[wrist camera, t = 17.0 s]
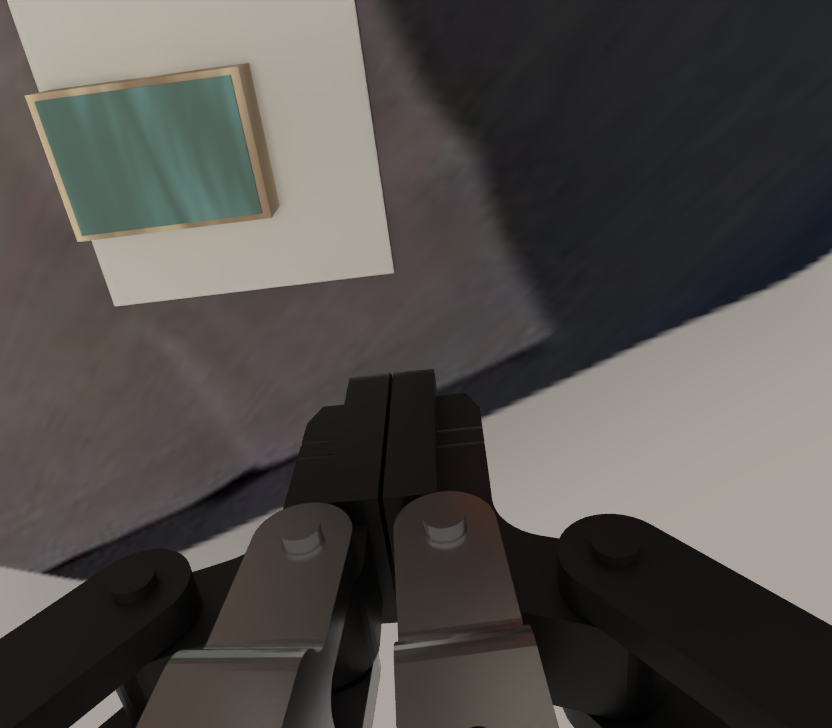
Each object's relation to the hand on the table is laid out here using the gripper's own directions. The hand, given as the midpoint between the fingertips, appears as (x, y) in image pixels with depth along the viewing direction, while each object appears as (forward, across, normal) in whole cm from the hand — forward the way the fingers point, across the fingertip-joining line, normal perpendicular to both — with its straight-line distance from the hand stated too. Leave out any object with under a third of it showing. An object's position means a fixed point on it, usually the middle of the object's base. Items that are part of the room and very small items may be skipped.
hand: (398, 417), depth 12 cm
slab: (+24, +8, -2) cm, 25 cm away
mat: (+26, +10, -2) cm, 28 cm away
